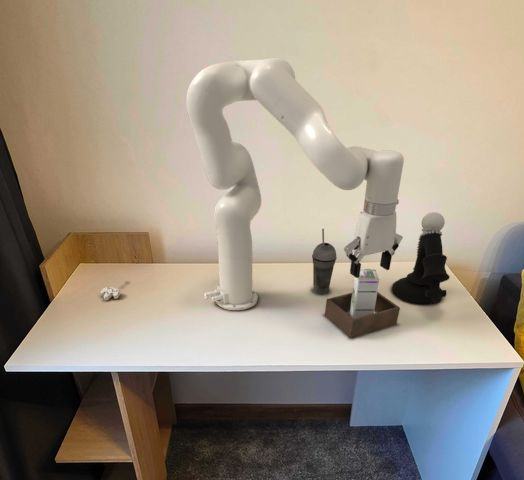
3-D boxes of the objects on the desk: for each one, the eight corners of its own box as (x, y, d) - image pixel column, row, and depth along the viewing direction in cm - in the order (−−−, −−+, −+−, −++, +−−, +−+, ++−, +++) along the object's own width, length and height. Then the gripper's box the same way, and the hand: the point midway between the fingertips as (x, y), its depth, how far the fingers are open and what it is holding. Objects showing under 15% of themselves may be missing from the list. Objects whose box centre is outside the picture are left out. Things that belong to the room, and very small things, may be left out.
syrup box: (372, 325, 126) (381, 278, 117) (351, 325, 126) (358, 278, 117) (368, 314, 130) (377, 268, 122) (348, 314, 130) (355, 268, 122)
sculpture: (433, 281, 147) (454, 205, 132) (459, 321, 128) (486, 237, 113) (386, 281, 147) (402, 204, 132) (405, 320, 128) (426, 236, 113)
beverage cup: (331, 298, 138) (339, 235, 126) (307, 295, 139) (313, 232, 127) (333, 286, 144) (340, 225, 132) (310, 284, 145) (315, 223, 133)
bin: (350, 338, 121) (353, 321, 117) (324, 315, 130) (326, 298, 126) (396, 324, 126) (400, 307, 123) (368, 303, 135) (371, 287, 132)
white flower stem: (98, 300, 134) (96, 293, 133) (109, 282, 144) (107, 275, 142) (117, 301, 134) (115, 293, 133) (127, 283, 144) (126, 275, 142)
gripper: (397, 197, 115) (386, 259, 125) (340, 207, 108) (334, 272, 119) (418, 206, 109) (405, 270, 119) (359, 217, 103) (350, 284, 113)
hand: (369, 271), depth 119 cm, fingers open, 9 cm apart
